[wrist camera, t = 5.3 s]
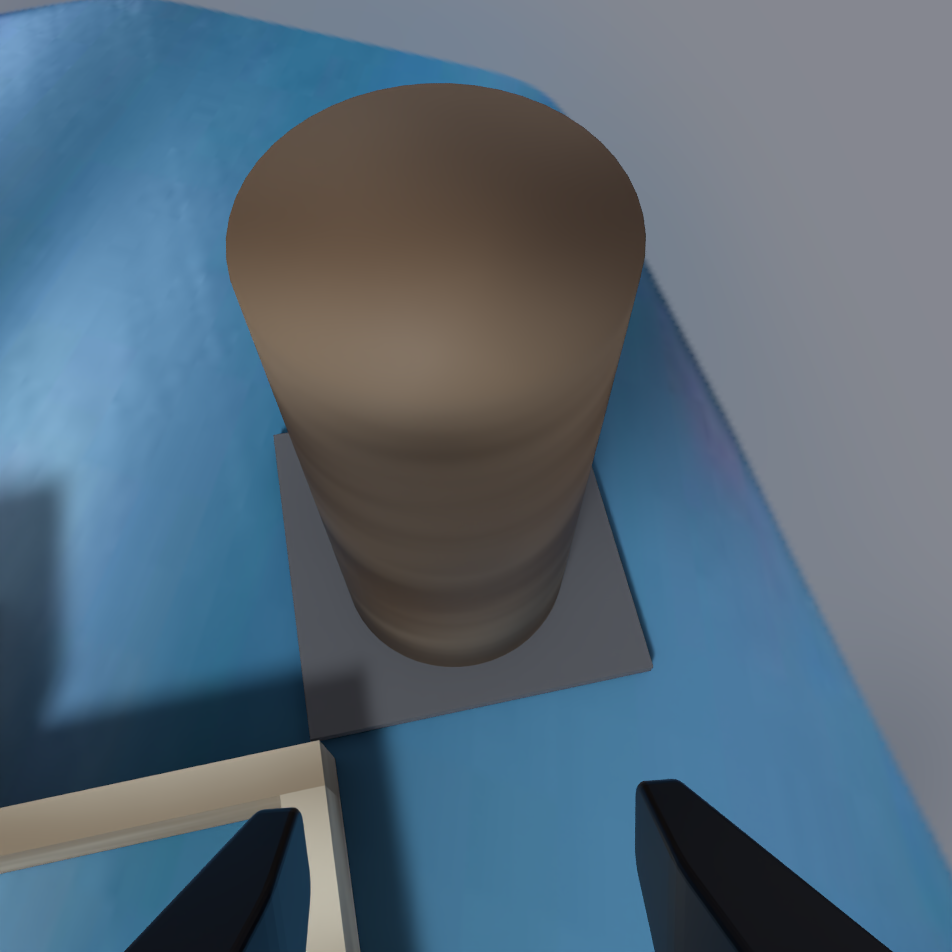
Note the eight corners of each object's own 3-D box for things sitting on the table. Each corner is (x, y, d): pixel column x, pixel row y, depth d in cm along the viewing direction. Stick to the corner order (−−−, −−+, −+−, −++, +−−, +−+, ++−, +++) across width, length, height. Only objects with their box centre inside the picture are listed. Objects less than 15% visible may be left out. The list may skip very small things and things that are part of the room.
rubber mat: (650, 670, 23) (653, 666, 23) (312, 742, 22) (310, 739, 22) (565, 389, 27) (566, 382, 27) (276, 441, 26) (273, 435, 26)
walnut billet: (587, 641, 23) (703, 360, 11) (363, 688, 22) (244, 442, 11) (534, 447, 26) (583, 60, 14) (332, 484, 25) (211, 112, 14)
